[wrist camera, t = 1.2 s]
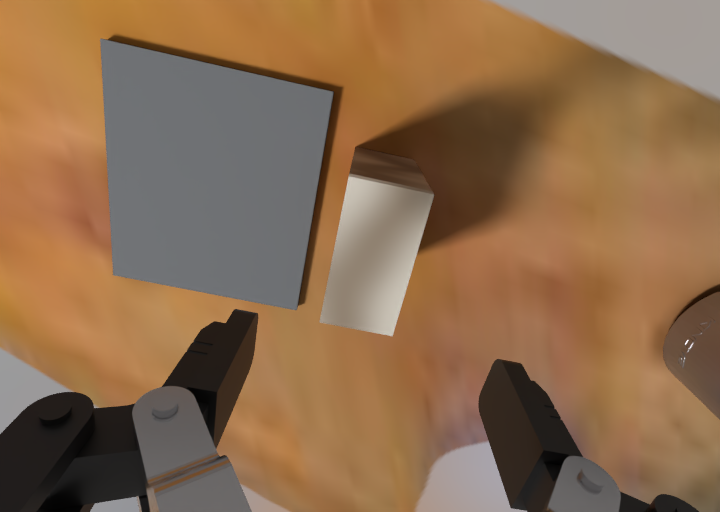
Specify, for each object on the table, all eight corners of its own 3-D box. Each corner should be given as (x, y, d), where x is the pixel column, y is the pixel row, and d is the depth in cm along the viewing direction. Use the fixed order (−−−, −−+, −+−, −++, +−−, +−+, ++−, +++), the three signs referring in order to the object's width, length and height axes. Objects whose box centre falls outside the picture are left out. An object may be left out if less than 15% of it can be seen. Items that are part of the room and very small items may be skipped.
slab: (414, 159, 26) (434, 194, 18) (386, 265, 29) (392, 336, 21) (355, 146, 26) (348, 176, 18) (333, 254, 29) (319, 322, 21)
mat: (334, 91, 24) (333, 91, 24) (297, 306, 31) (296, 310, 30) (106, 39, 24) (100, 38, 23) (117, 271, 30) (113, 275, 29)
